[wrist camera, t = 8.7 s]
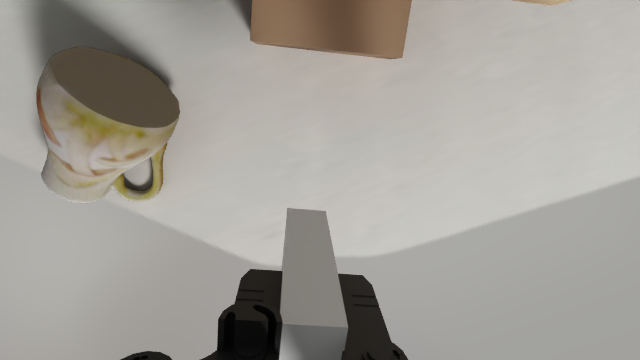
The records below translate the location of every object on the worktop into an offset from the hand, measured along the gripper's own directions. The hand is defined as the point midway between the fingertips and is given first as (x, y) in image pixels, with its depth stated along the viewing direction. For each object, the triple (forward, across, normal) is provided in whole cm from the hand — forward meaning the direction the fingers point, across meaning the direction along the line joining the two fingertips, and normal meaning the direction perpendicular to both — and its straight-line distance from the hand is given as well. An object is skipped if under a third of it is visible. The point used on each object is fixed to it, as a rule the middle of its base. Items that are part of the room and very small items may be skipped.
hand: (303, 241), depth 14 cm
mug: (+13, -12, +1) cm, 18 cm away
